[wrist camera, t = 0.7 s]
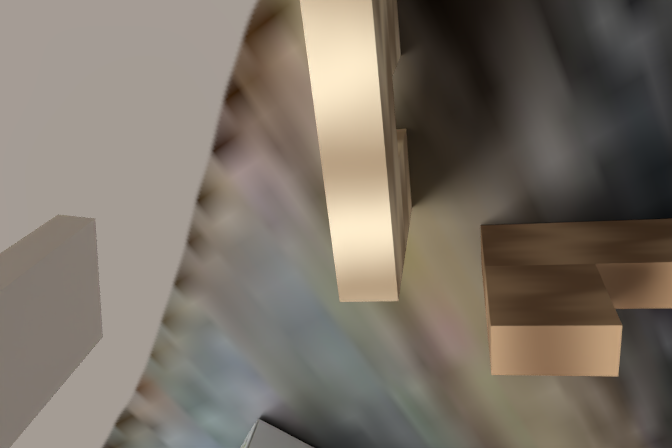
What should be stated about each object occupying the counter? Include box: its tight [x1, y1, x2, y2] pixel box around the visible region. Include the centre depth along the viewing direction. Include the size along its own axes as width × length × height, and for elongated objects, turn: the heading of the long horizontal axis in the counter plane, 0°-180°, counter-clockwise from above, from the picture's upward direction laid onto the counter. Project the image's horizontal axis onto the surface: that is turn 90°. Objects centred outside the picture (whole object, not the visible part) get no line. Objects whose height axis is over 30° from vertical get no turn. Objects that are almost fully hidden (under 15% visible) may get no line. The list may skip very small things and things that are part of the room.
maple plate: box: [300, 0, 412, 302], centre depth 28 cm, size 13×2×10 cm, turn 7°
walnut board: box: [481, 219, 672, 376], centre depth 29 cm, size 14×2×10 cm, turn 97°
